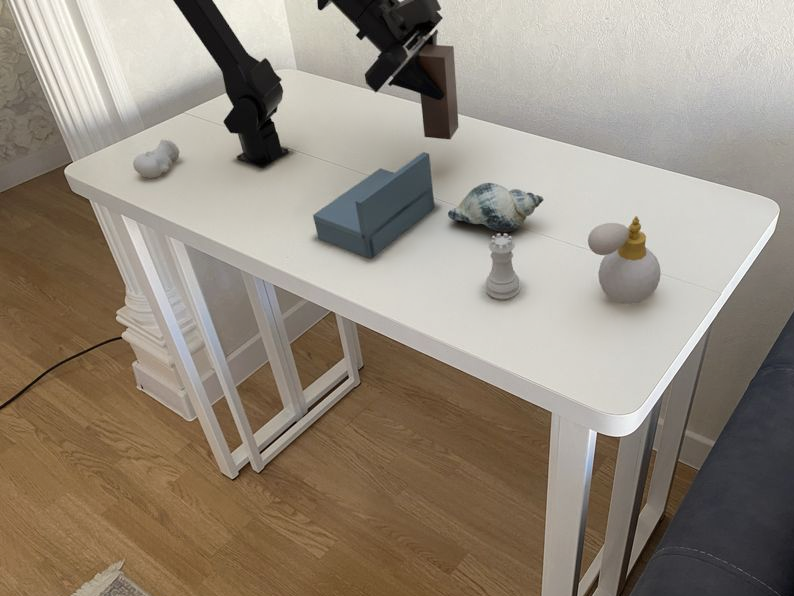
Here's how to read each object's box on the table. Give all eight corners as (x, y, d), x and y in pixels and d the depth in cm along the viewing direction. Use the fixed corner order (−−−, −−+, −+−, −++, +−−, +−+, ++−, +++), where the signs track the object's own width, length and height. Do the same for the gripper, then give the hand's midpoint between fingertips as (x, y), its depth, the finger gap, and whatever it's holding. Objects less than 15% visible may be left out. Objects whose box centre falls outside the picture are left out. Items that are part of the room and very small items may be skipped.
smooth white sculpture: (152, 189, 120) (130, 174, 121) (190, 167, 124) (168, 152, 125) (148, 169, 116) (125, 153, 118) (186, 147, 121) (165, 132, 122)
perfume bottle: (667, 290, 92) (681, 209, 84) (630, 332, 86) (641, 250, 78) (614, 270, 95) (623, 190, 87) (576, 310, 90) (581, 229, 82)
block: (424, 137, 111) (416, 55, 102) (433, 124, 114) (426, 44, 105) (450, 139, 110) (444, 57, 101) (458, 127, 113) (453, 46, 104)
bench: (318, 238, 105) (305, 183, 98) (383, 190, 113) (375, 137, 107) (370, 259, 100) (360, 203, 94) (434, 207, 109) (429, 153, 103)
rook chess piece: (483, 281, 95) (481, 230, 90) (517, 278, 95) (517, 227, 90) (487, 302, 92) (485, 251, 86) (522, 299, 92) (522, 247, 87)
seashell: (472, 215, 110) (539, 238, 104) (442, 218, 104) (512, 243, 98) (480, 173, 107) (549, 194, 101) (450, 174, 101) (522, 197, 96)
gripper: (374, -10, 90) (462, 83, 95) (424, -53, 103) (500, 31, 108) (328, 49, 98) (413, 133, 103) (380, 3, 111) (453, 79, 115)
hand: (447, 91), depth 107 cm, fingers closed on block, 4 cm apart
